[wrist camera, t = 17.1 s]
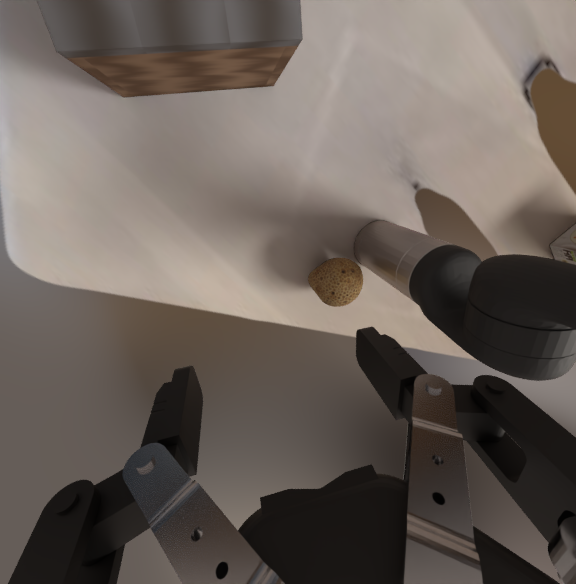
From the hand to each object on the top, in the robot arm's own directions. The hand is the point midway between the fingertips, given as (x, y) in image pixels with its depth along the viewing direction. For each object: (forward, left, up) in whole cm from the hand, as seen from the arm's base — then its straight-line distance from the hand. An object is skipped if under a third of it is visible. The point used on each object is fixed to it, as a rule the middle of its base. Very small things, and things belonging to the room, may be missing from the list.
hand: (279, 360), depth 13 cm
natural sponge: (-15, +12, -36) cm, 41 cm away
